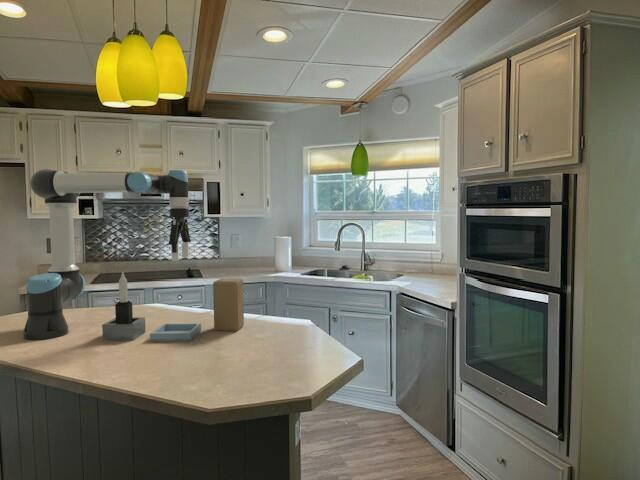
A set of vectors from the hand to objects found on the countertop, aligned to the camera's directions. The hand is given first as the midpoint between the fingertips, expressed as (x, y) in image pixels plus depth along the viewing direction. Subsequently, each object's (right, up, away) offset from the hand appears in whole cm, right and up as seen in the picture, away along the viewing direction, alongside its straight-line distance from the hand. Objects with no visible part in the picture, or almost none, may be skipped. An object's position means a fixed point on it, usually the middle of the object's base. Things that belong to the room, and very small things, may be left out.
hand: (180, 259), depth 190 cm
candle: (-17, -29, -14) cm, 37 cm away
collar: (-17, -29, -14) cm, 37 cm away
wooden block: (+21, -28, -4) cm, 35 cm away
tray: (+3, -29, -15) cm, 33 cm away
